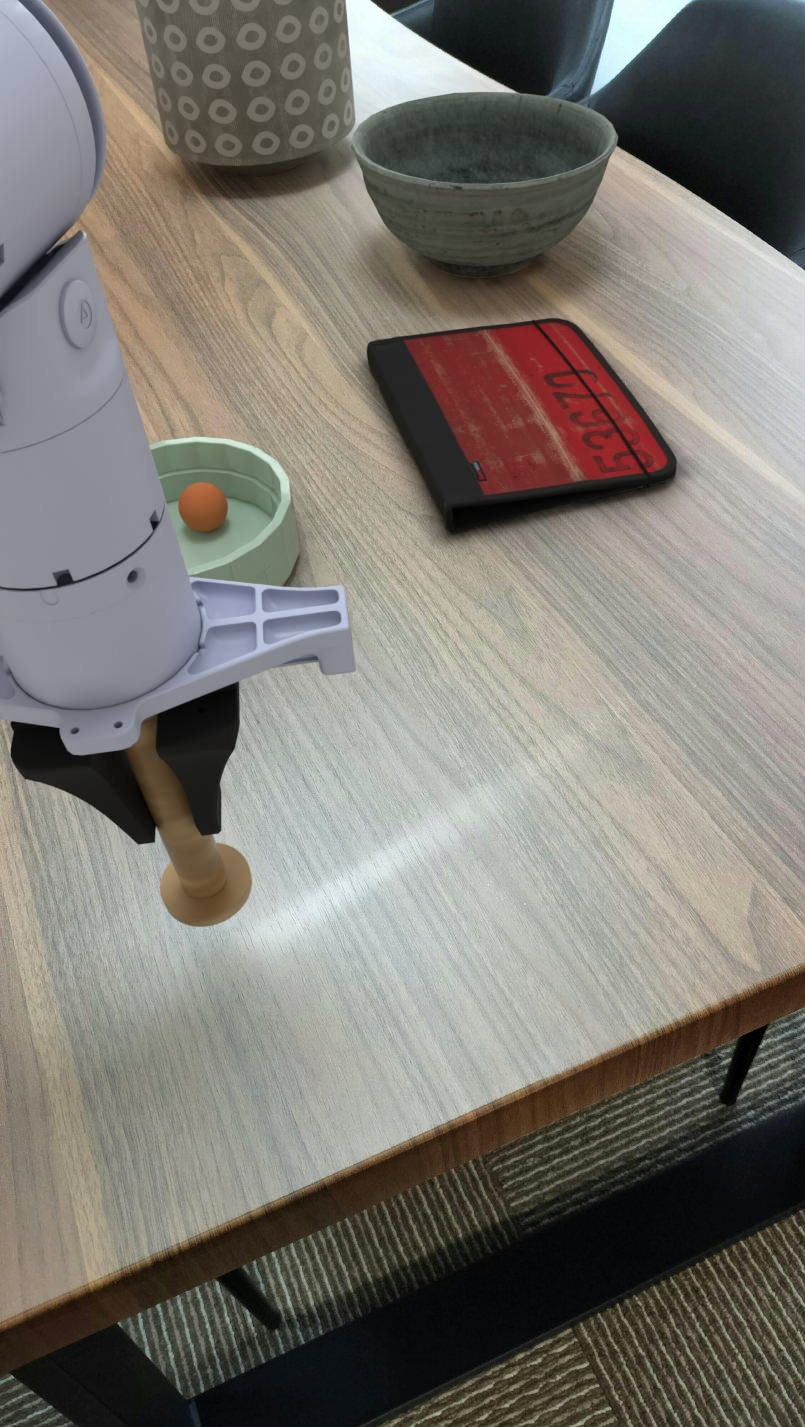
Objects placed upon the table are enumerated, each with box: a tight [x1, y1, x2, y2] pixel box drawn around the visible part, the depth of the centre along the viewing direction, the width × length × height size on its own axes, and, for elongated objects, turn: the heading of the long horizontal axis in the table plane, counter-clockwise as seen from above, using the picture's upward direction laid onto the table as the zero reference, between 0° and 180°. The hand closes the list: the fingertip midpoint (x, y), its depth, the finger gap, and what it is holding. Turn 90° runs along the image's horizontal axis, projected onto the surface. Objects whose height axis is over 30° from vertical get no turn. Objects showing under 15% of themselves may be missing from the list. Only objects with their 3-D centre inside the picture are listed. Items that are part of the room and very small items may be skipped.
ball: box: [178, 482, 228, 532], centre depth 63 cm, size 3×3×3 cm
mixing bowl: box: [149, 436, 301, 587], centre depth 61 cm, size 13×13×4 cm
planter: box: [134, 0, 356, 177], centre depth 97 cm, size 19×19×18 cm
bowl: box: [351, 91, 619, 279], centre depth 84 cm, size 21×21×10 cm
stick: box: [123, 714, 253, 928], centre depth 37 cm, size 4×4×11 cm
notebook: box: [366, 317, 678, 534], centre depth 70 cm, size 16×2×21 cm
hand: (178, 817), depth 38 cm, fingers closed on stick, 2 cm apart
